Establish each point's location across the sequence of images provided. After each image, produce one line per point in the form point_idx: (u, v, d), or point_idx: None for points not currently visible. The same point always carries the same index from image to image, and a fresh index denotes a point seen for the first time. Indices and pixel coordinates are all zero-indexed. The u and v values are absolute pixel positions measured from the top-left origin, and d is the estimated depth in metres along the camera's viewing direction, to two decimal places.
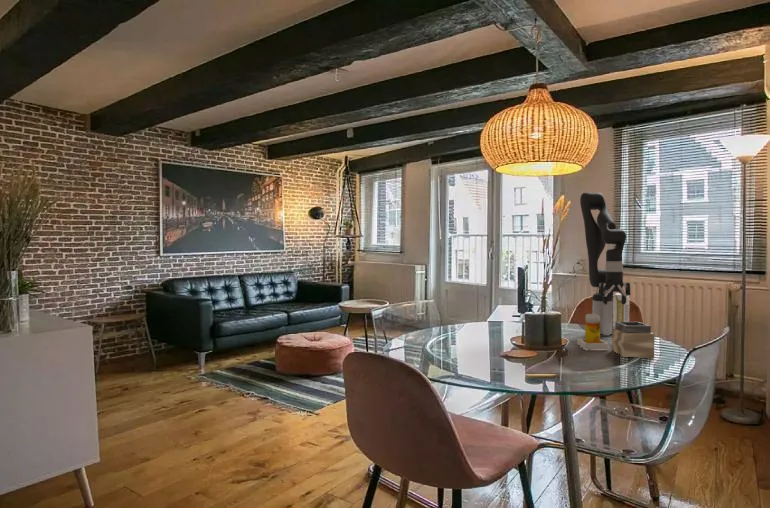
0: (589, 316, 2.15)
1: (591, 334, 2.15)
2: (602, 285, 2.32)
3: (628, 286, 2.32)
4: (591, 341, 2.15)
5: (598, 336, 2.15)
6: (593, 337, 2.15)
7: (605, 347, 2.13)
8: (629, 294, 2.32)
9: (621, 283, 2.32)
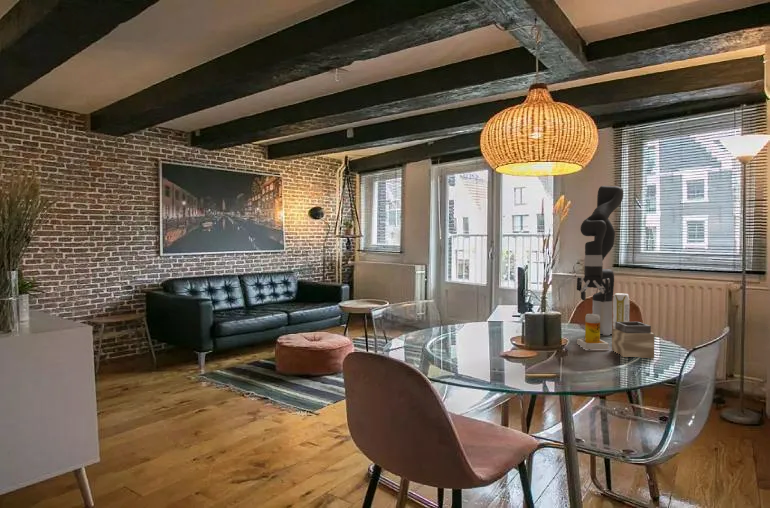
0: (589, 316, 2.15)
1: (591, 333, 2.15)
2: None
3: None
4: (591, 341, 2.15)
5: (598, 336, 2.15)
6: (593, 337, 2.15)
7: (605, 347, 2.13)
8: None
9: None
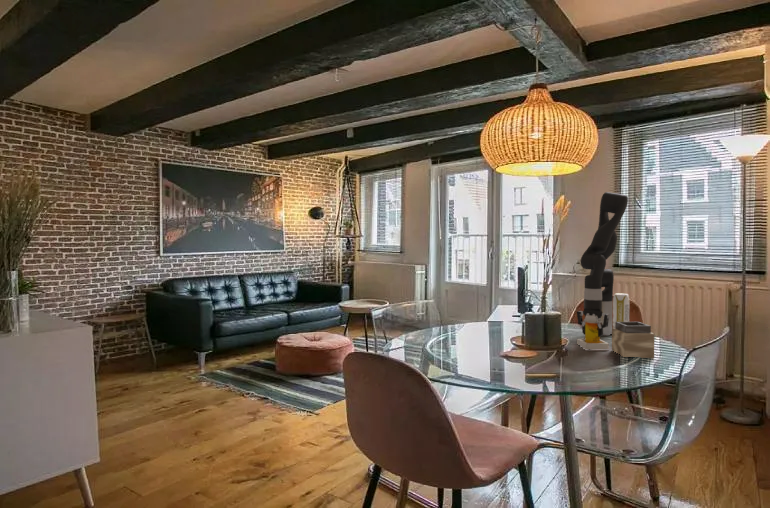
0: (589, 316, 2.16)
1: (591, 333, 2.15)
2: None
3: None
4: (591, 341, 2.15)
5: None
6: (593, 337, 2.15)
7: (605, 347, 2.13)
8: None
9: None
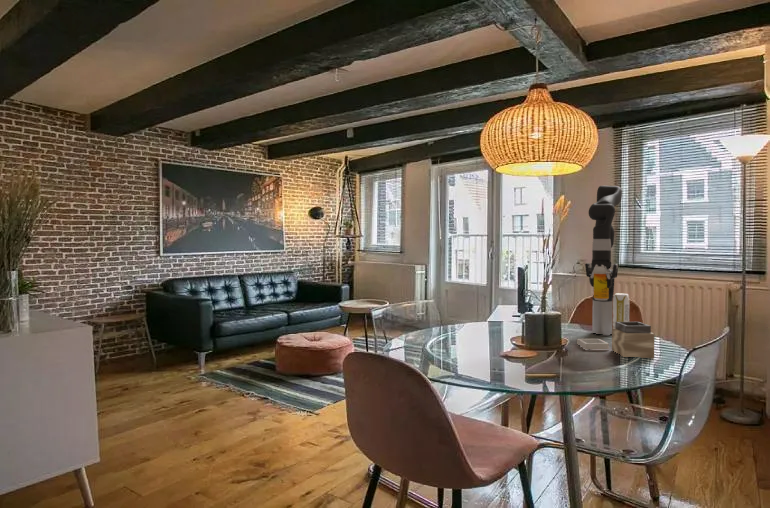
0: (598, 267, 2.12)
1: (600, 285, 2.11)
2: None
3: None
4: (600, 292, 2.11)
5: None
6: (601, 288, 2.11)
7: (605, 347, 2.13)
8: None
9: None
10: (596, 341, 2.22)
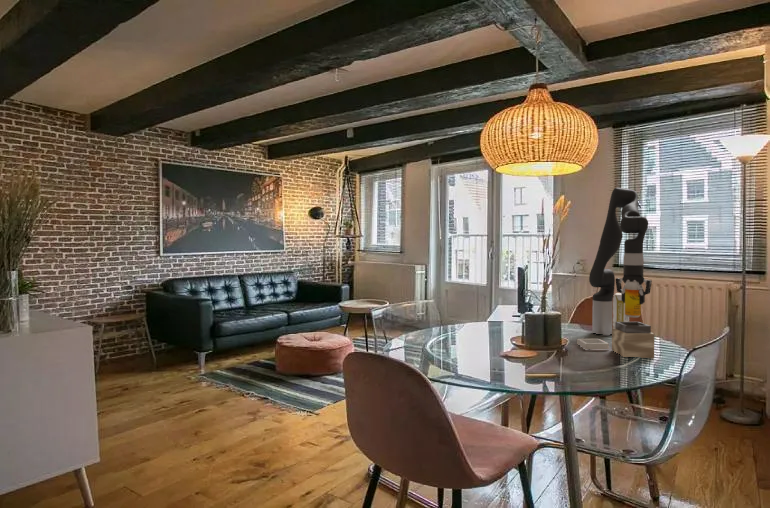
0: (630, 282, 2.03)
1: (632, 301, 2.02)
2: None
3: None
4: (632, 309, 2.02)
5: (639, 304, 2.02)
6: (634, 304, 2.02)
7: (605, 347, 2.13)
8: None
9: None
10: (596, 341, 2.22)
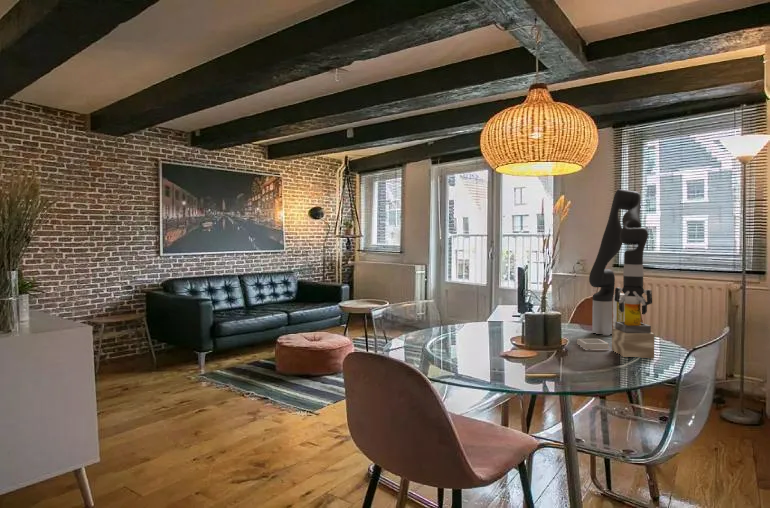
0: (629, 297, 2.03)
1: (632, 315, 2.02)
2: None
3: None
4: (631, 323, 2.03)
5: (639, 318, 2.02)
6: (633, 319, 2.02)
7: (605, 347, 2.13)
8: None
9: None
10: (596, 341, 2.22)
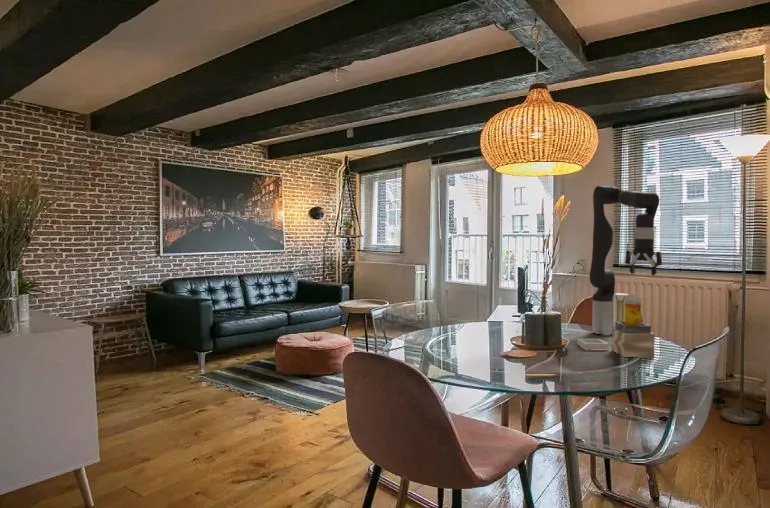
0: (629, 297, 2.03)
1: (632, 315, 2.02)
2: None
3: None
4: (631, 323, 2.02)
5: (639, 318, 2.02)
6: (633, 319, 2.02)
7: (605, 347, 2.13)
8: None
9: None
10: (596, 341, 2.22)
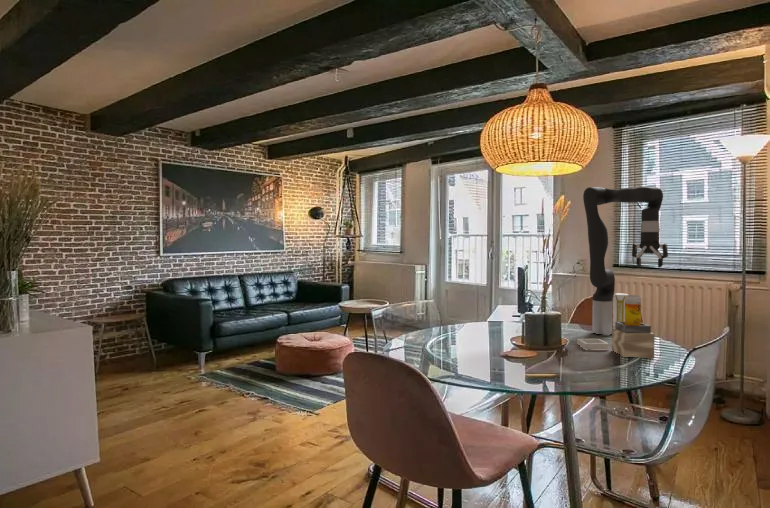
0: (629, 297, 2.03)
1: (632, 315, 2.02)
2: None
3: None
4: (631, 323, 2.03)
5: (639, 318, 2.02)
6: (633, 319, 2.02)
7: (605, 347, 2.13)
8: None
9: None
10: (596, 341, 2.22)
